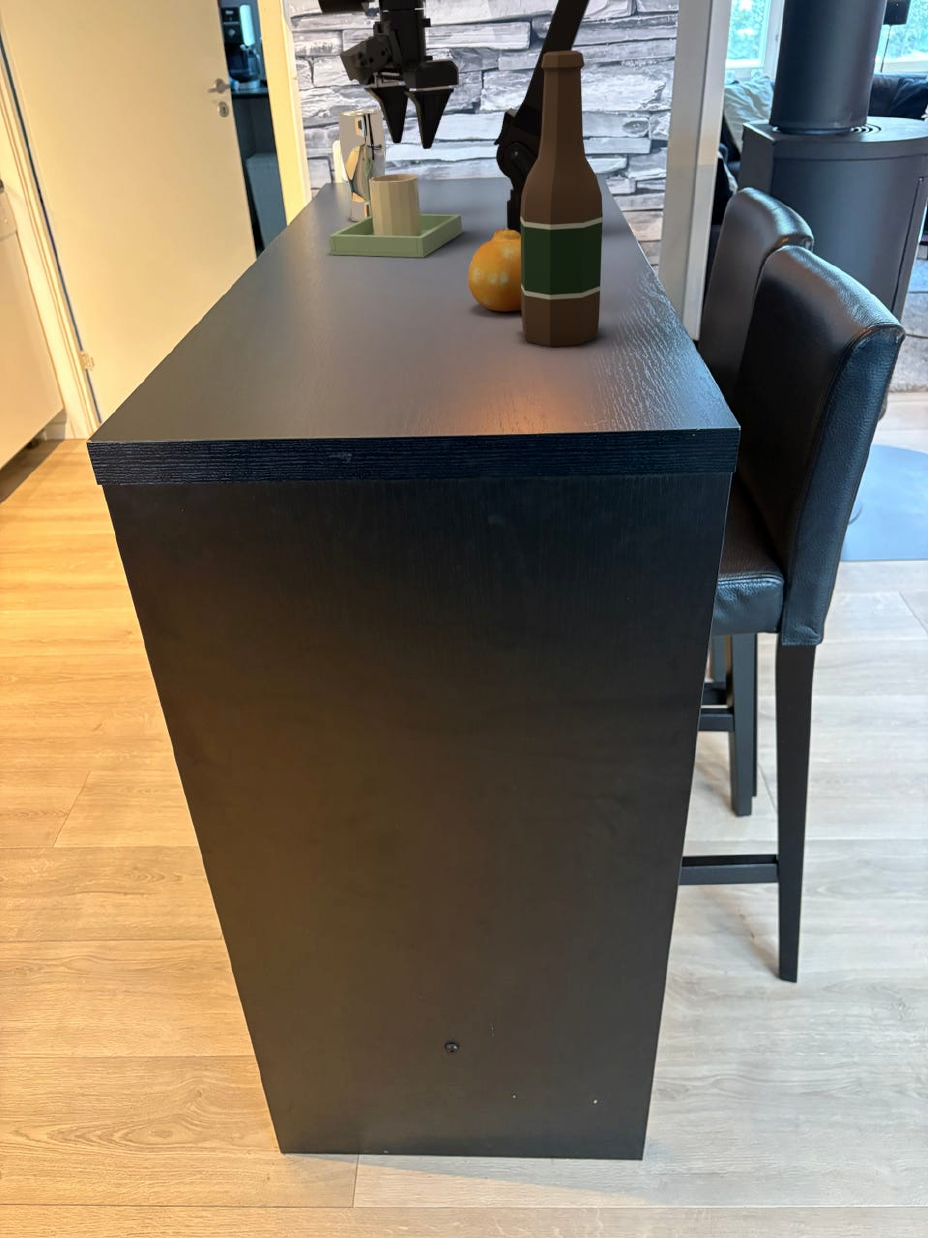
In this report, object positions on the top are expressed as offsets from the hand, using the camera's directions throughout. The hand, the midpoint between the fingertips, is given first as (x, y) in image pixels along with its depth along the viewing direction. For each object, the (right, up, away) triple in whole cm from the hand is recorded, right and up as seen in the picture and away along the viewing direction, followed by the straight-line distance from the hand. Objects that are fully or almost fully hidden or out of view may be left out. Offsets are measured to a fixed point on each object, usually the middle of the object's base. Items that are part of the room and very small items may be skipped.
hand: (411, 145), depth 128 cm
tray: (-2, -12, +4) cm, 13 cm away
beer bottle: (+17, -37, -36) cm, 54 cm away
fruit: (+12, -31, -26) cm, 42 cm away
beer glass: (-8, -1, +21) cm, 22 cm away
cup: (-2, -11, +3) cm, 12 cm away
